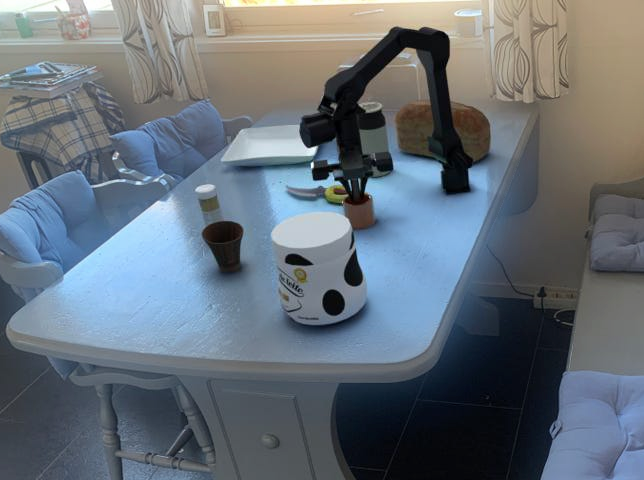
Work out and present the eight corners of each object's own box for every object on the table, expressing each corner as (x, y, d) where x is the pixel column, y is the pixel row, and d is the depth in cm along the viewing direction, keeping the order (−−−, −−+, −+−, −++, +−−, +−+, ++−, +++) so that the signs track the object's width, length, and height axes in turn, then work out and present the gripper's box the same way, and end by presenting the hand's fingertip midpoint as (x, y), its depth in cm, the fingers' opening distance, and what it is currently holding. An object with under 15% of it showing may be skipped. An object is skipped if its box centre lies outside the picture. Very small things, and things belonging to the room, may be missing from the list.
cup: (233, 283, 164) (221, 242, 158) (204, 274, 168) (191, 234, 162) (261, 265, 170) (251, 224, 164) (232, 256, 174) (221, 217, 168)
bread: (414, 140, 227) (409, 91, 218) (497, 152, 214) (495, 101, 206) (391, 154, 219) (385, 104, 210) (476, 168, 206) (473, 115, 198)
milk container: (267, 327, 149) (246, 245, 139) (310, 283, 162) (294, 205, 151) (345, 340, 144) (330, 256, 133) (383, 293, 156) (372, 213, 146)
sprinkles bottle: (226, 234, 184) (212, 182, 176) (231, 241, 181) (216, 188, 173) (207, 239, 183) (193, 186, 175) (211, 246, 179) (196, 193, 171)
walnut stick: (362, 207, 183) (357, 176, 178) (363, 211, 182) (358, 179, 177) (354, 208, 183) (349, 177, 178) (354, 212, 181) (350, 180, 177)
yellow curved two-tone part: (275, 198, 199) (360, 207, 191) (273, 189, 197) (359, 198, 189) (290, 186, 205) (374, 195, 197) (288, 177, 203) (372, 185, 195)
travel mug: (396, 172, 208) (389, 106, 197) (371, 180, 205) (362, 113, 194) (382, 163, 213) (373, 99, 203) (357, 171, 210) (347, 106, 199)
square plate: (317, 167, 215) (314, 154, 212) (222, 173, 216) (218, 160, 214) (329, 133, 236) (327, 121, 234) (243, 139, 238) (240, 127, 235)
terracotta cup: (373, 213, 188) (370, 191, 184) (376, 226, 182) (373, 203, 178) (344, 217, 187) (341, 195, 183) (346, 230, 181) (343, 207, 177)
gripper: (307, 154, 164) (319, 220, 173) (392, 143, 166) (400, 208, 175) (306, 136, 173) (317, 200, 182) (386, 126, 175) (394, 189, 184)
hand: (357, 200), depth 181 cm, fingers closed on walnut stick, 2 cm apart
